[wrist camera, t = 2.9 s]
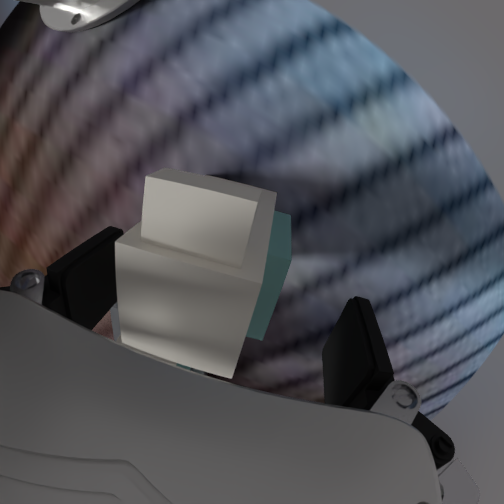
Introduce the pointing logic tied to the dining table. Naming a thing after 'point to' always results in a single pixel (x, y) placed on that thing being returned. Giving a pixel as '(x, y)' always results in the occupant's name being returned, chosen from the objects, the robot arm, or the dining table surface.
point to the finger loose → (201, 269)
